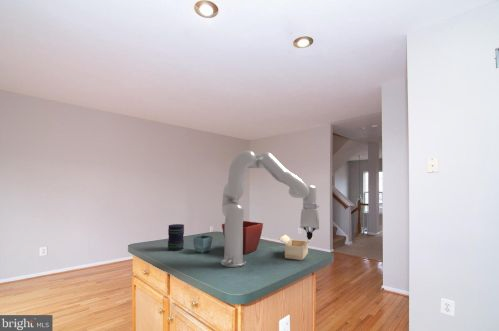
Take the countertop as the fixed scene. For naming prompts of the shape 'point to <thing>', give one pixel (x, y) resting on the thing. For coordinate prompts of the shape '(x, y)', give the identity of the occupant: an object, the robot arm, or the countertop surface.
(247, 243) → the plant pot
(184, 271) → the countertop surface
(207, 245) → the flower pot
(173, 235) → the storage jar
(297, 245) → the carton
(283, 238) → the flap left
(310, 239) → the flap right
